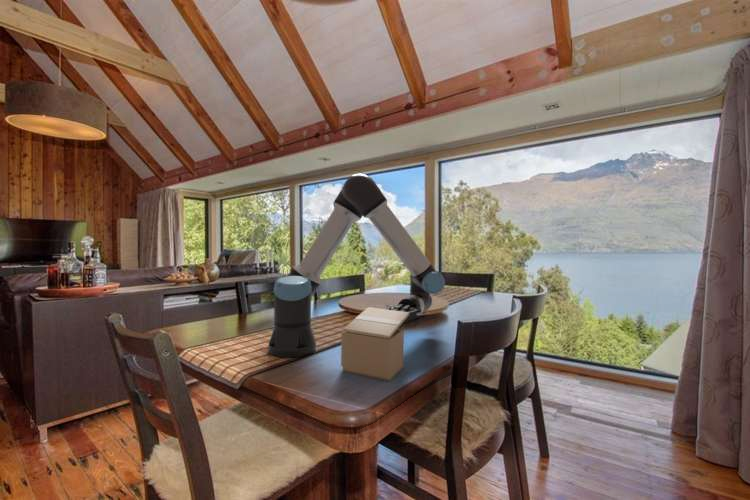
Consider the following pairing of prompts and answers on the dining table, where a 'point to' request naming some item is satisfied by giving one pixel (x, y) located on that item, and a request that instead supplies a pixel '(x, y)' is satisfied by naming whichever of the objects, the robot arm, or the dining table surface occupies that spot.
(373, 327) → the flap
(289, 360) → the dining table surface
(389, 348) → the carton
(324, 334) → the dining table surface
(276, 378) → the dining table surface
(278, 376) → the dining table surface
